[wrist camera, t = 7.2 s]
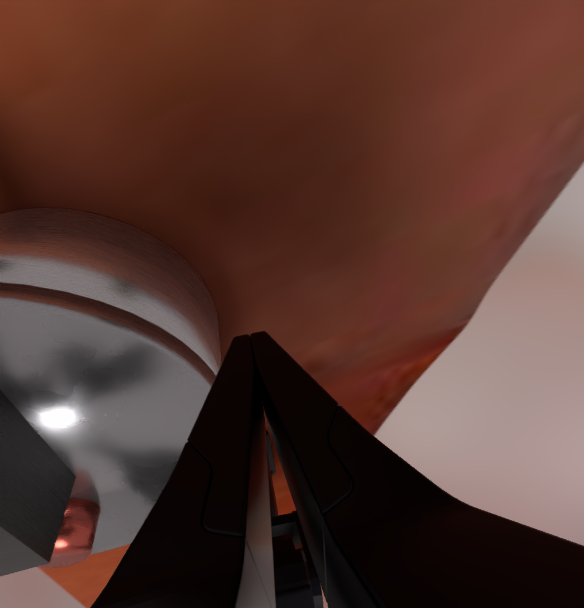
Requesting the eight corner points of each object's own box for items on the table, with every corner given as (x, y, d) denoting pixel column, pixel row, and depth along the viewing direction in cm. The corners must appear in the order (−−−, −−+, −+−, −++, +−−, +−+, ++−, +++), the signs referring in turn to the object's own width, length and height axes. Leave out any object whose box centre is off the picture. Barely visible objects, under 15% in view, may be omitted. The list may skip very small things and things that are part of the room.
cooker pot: (236, 390, 25) (246, 482, 20) (18, 437, 23) (-40, 555, 18) (157, 76, 14) (128, 80, 8) (-283, 115, 12) (-720, 155, 6)
